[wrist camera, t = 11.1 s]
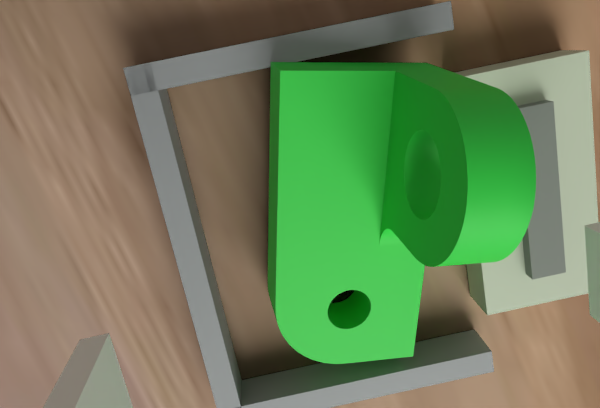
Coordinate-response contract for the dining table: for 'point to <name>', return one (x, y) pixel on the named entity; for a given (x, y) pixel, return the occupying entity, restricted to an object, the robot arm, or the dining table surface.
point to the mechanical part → (384, 196)
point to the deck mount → (481, 276)
